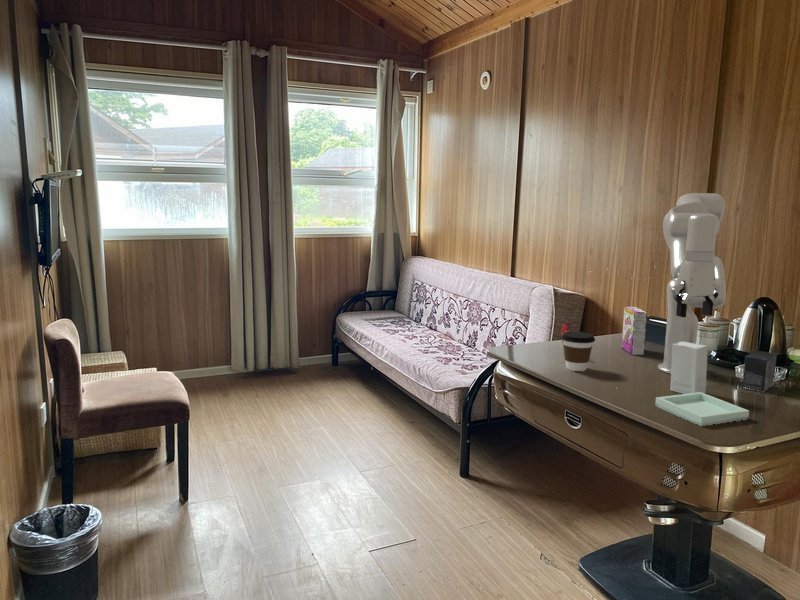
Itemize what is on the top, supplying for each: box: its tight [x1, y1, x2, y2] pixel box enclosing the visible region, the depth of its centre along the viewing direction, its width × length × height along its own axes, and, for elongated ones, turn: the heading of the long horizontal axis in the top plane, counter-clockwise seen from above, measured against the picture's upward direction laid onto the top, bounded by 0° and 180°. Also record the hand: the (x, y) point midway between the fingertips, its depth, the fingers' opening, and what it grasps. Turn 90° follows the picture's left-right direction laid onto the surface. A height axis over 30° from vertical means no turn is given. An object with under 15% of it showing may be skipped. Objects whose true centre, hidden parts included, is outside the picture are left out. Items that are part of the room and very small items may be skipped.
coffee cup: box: [561, 331, 596, 372], centre depth 202 cm, size 11×11×12 cm
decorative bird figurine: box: [560, 323, 571, 345], centre depth 223 cm, size 3×18×10 cm, turn 8°
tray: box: [654, 392, 750, 427], centre depth 163 cm, size 16×16×2 cm
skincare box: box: [669, 341, 709, 394], centre depth 179 cm, size 8×6×15 cm
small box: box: [741, 350, 778, 391], centre depth 185 cm, size 11×6×10 cm, turn 135°
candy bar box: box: [621, 306, 648, 356], centre depth 226 cm, size 11×5×16 cm, turn 179°
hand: (693, 315), depth 176 cm, fingers open, 9 cm apart
